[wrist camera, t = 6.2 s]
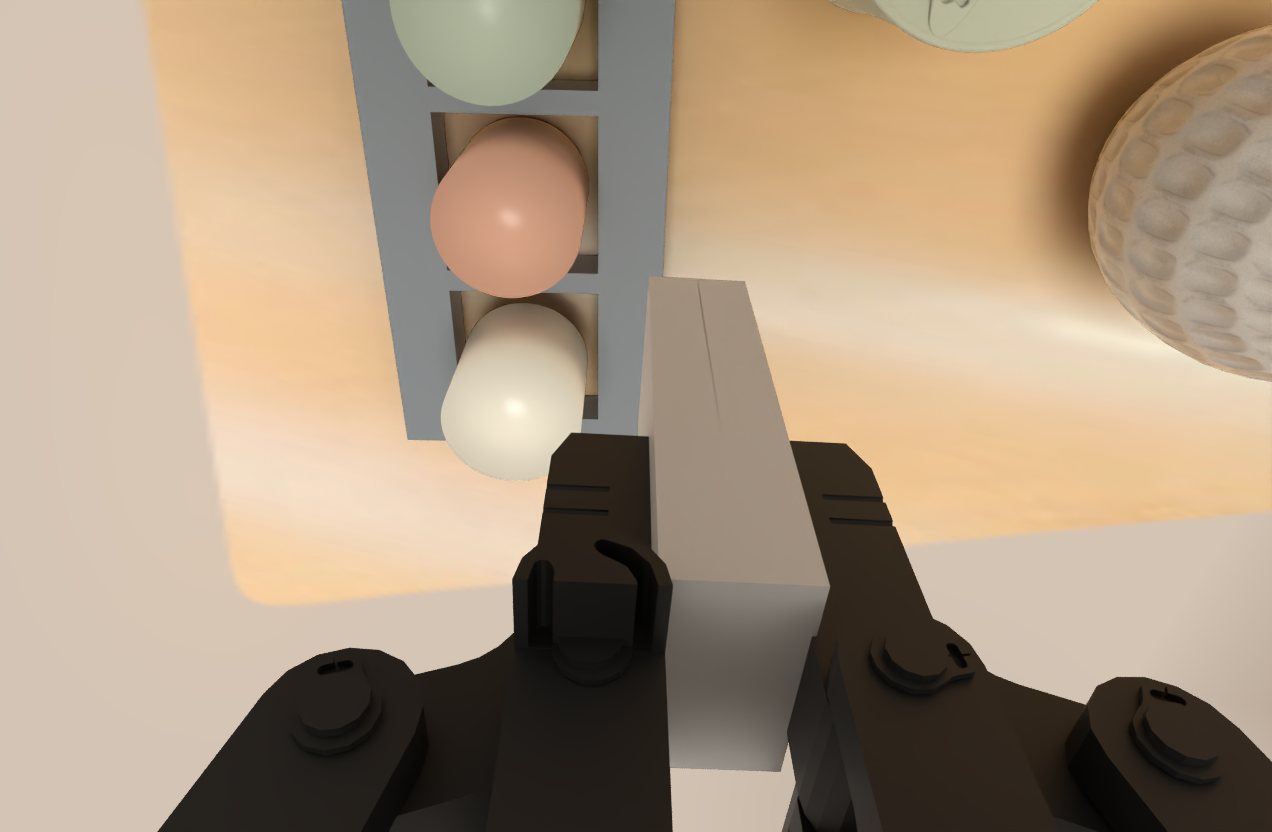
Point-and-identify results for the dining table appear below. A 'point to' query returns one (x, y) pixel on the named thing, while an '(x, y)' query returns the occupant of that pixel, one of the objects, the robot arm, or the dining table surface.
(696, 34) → the dining table surface
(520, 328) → the cream cylinder
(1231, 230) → the vase
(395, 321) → the board
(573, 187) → the pink cylinder
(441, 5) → the pale green round piece
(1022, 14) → the can
